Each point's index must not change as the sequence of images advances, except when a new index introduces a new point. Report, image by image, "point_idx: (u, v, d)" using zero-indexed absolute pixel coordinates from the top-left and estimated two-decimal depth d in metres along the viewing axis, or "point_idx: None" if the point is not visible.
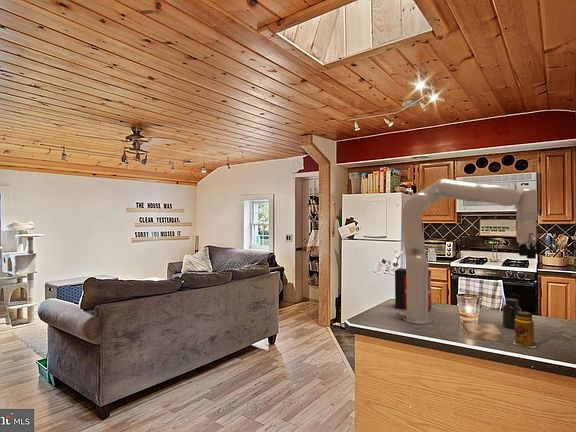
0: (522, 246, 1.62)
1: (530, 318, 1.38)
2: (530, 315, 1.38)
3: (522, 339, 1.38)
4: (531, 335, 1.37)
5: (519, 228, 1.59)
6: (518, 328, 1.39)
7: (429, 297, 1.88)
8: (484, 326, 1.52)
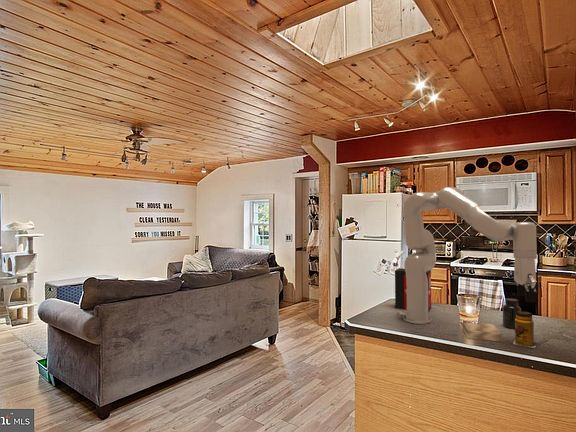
0: (520, 285, 1.45)
1: (530, 318, 1.38)
2: (530, 315, 1.38)
3: (522, 339, 1.38)
4: (531, 335, 1.37)
5: (516, 266, 1.41)
6: (518, 328, 1.39)
7: (429, 297, 1.88)
8: (484, 326, 1.52)
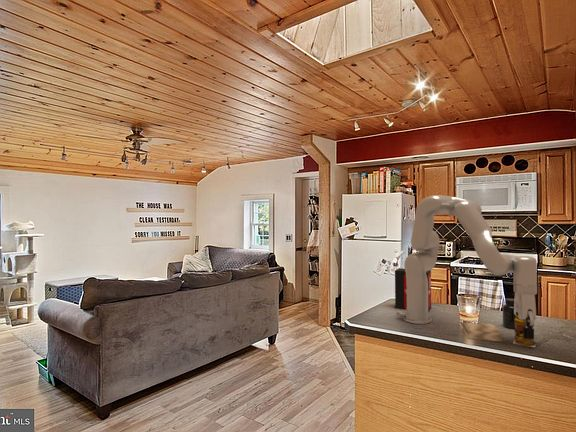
0: None
1: None
2: None
3: (522, 338, 1.38)
4: None
5: (516, 300, 1.41)
6: (518, 328, 1.40)
7: (429, 297, 1.88)
8: (484, 326, 1.52)
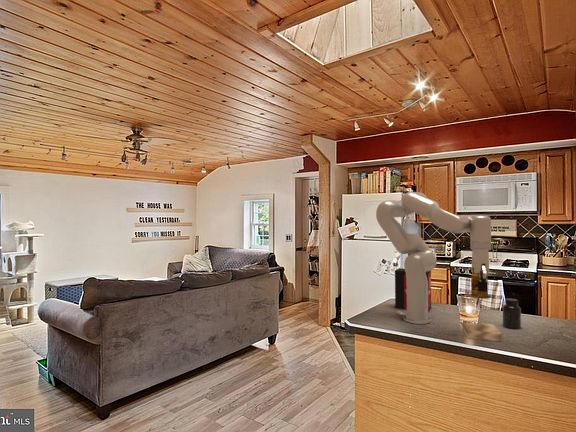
0: None
1: None
2: None
3: (477, 291, 1.48)
4: None
5: (473, 257, 1.51)
6: (473, 282, 1.50)
7: (429, 297, 1.88)
8: (484, 326, 1.52)
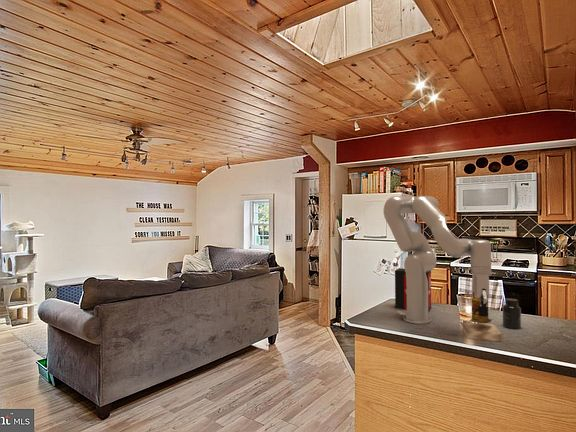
0: None
1: None
2: None
3: (478, 316, 1.48)
4: None
5: (473, 281, 1.51)
6: (474, 306, 1.50)
7: (429, 297, 1.88)
8: (484, 326, 1.52)
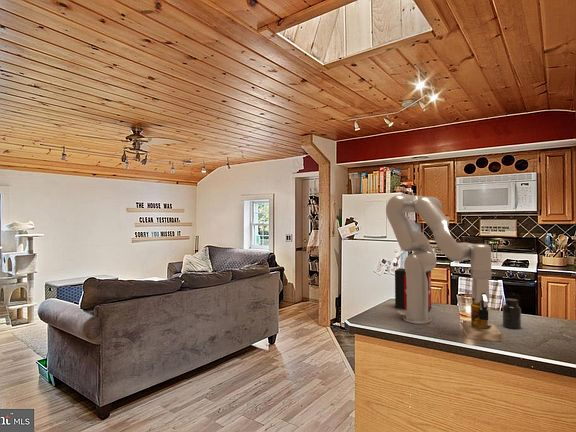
0: None
1: None
2: None
3: (477, 322, 1.48)
4: None
5: (473, 285, 1.51)
6: (473, 313, 1.50)
7: (429, 297, 1.88)
8: None
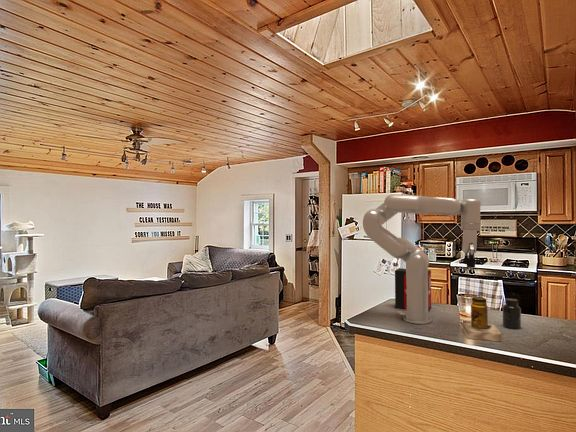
0: None
1: (484, 303, 1.48)
2: (484, 300, 1.48)
3: (477, 322, 1.48)
4: (485, 319, 1.48)
5: (463, 237, 1.63)
6: (473, 313, 1.50)
7: (429, 297, 1.88)
8: None
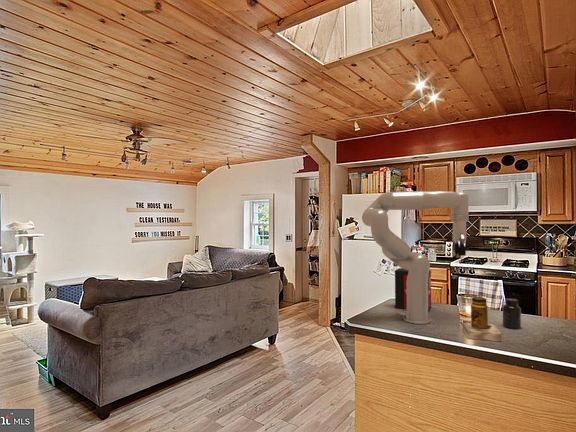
0: (457, 244, 1.80)
1: (484, 303, 1.48)
2: (484, 300, 1.48)
3: (477, 322, 1.48)
4: (485, 319, 1.48)
5: (453, 228, 1.76)
6: (473, 313, 1.50)
7: (429, 297, 1.88)
8: None
